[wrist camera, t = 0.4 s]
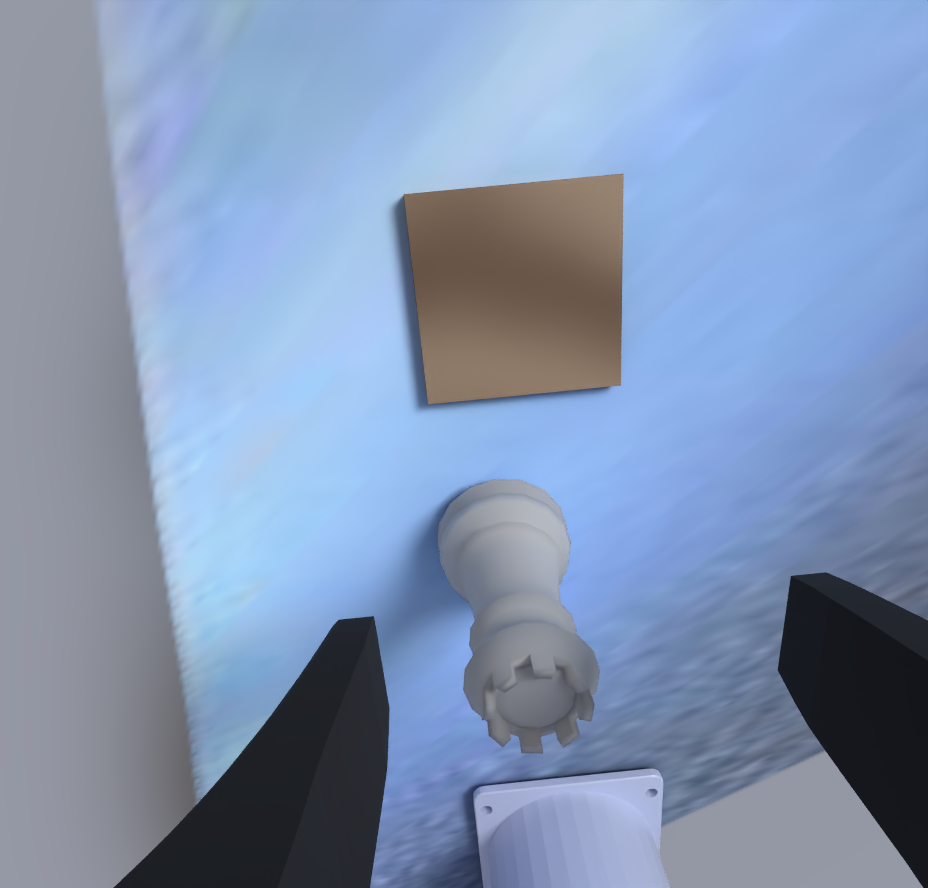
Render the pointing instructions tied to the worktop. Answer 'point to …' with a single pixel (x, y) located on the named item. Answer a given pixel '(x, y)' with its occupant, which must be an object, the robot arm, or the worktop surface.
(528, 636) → the rook chess piece
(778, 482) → the worktop surface
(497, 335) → the walnut tile
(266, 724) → the robot arm
